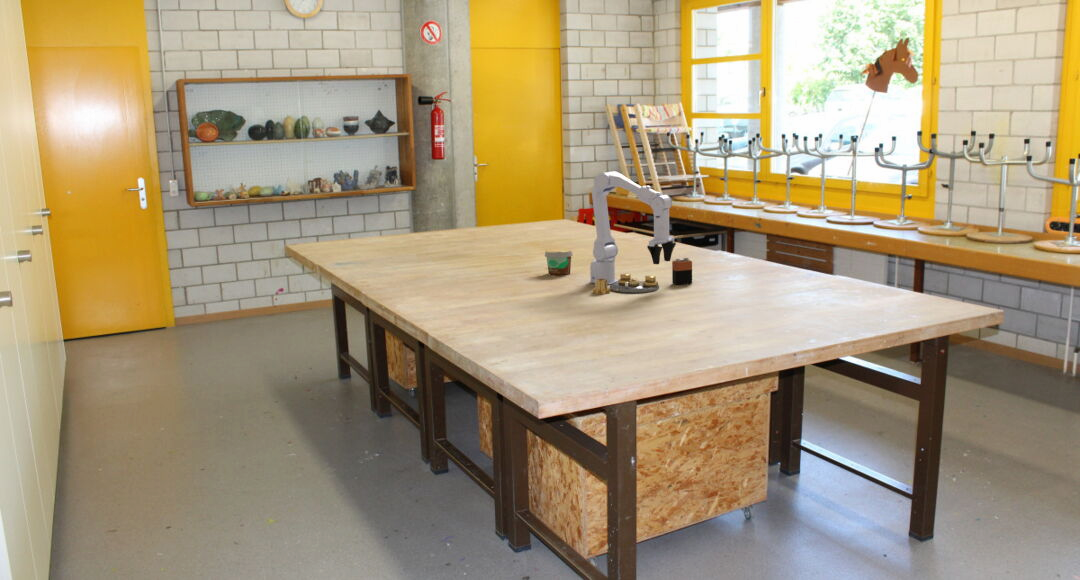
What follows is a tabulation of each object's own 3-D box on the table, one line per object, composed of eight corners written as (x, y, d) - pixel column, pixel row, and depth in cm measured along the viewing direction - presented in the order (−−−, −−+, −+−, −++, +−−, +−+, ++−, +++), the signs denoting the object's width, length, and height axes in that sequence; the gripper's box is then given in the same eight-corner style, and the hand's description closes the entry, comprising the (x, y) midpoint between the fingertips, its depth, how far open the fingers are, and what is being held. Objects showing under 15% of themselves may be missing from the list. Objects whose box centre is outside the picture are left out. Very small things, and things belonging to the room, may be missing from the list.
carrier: (600, 291, 342) (600, 279, 341) (624, 282, 357) (623, 271, 356) (645, 295, 331) (645, 283, 330) (667, 285, 347) (667, 274, 346)
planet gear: (589, 293, 338) (589, 280, 337) (598, 290, 344) (597, 277, 343) (604, 294, 335) (604, 282, 334) (613, 291, 340) (613, 278, 339)
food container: (540, 275, 377) (540, 252, 375) (546, 273, 383) (545, 250, 381) (568, 276, 373) (567, 253, 371) (573, 274, 378) (572, 250, 376)
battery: (692, 284, 348) (692, 258, 346) (676, 285, 347) (676, 260, 345) (688, 282, 353) (687, 257, 351) (671, 283, 351) (671, 258, 349)
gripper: (659, 230, 330) (660, 266, 333) (680, 225, 341) (681, 260, 343) (643, 229, 334) (644, 264, 337) (665, 224, 345) (665, 259, 348)
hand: (661, 262), depth 341 cm, fingers open, 7 cm apart
